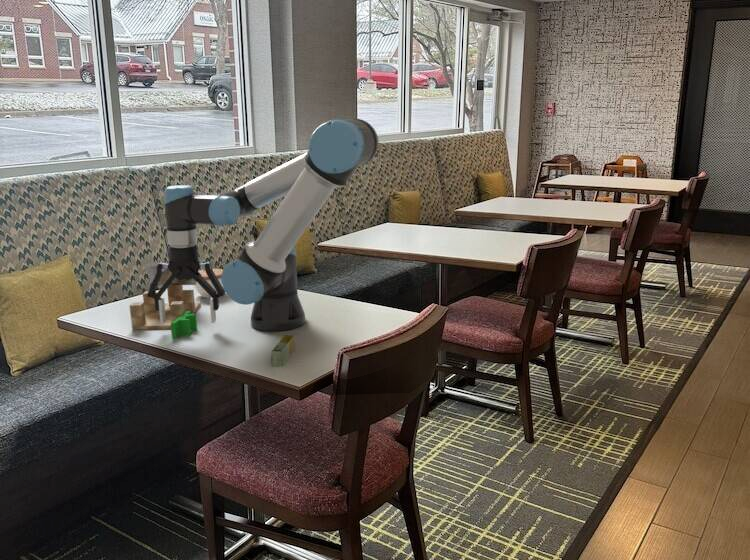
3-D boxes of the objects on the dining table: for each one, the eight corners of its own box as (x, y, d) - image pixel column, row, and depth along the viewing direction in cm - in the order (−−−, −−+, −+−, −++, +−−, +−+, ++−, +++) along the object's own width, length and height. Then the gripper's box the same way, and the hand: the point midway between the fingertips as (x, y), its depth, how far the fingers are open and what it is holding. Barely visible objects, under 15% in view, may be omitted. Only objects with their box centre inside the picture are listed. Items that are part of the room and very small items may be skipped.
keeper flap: (195, 285, 207) (196, 282, 207) (189, 265, 200) (190, 262, 200) (152, 286, 206) (153, 283, 207) (145, 266, 199) (145, 263, 200)
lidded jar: (224, 299, 216) (222, 271, 214) (191, 300, 216) (188, 271, 214) (231, 290, 226) (229, 263, 224) (198, 291, 226) (196, 264, 224)
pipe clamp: (185, 340, 180) (184, 323, 179) (172, 339, 181) (170, 323, 179) (201, 326, 191) (199, 310, 190) (188, 326, 191) (186, 310, 190)
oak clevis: (200, 305, 210) (198, 283, 208) (183, 328, 189) (180, 304, 187) (154, 306, 210) (152, 285, 208) (132, 329, 188) (129, 305, 187)
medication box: (282, 367, 160) (282, 351, 159) (271, 366, 160) (270, 350, 159) (295, 349, 171) (294, 334, 170) (284, 349, 172) (284, 333, 171)
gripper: (232, 241, 183) (237, 316, 189) (139, 242, 183) (146, 317, 188) (227, 247, 176) (232, 325, 181) (130, 248, 175) (137, 326, 181)
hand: (188, 321), depth 185 cm, fingers open, 13 cm apart
